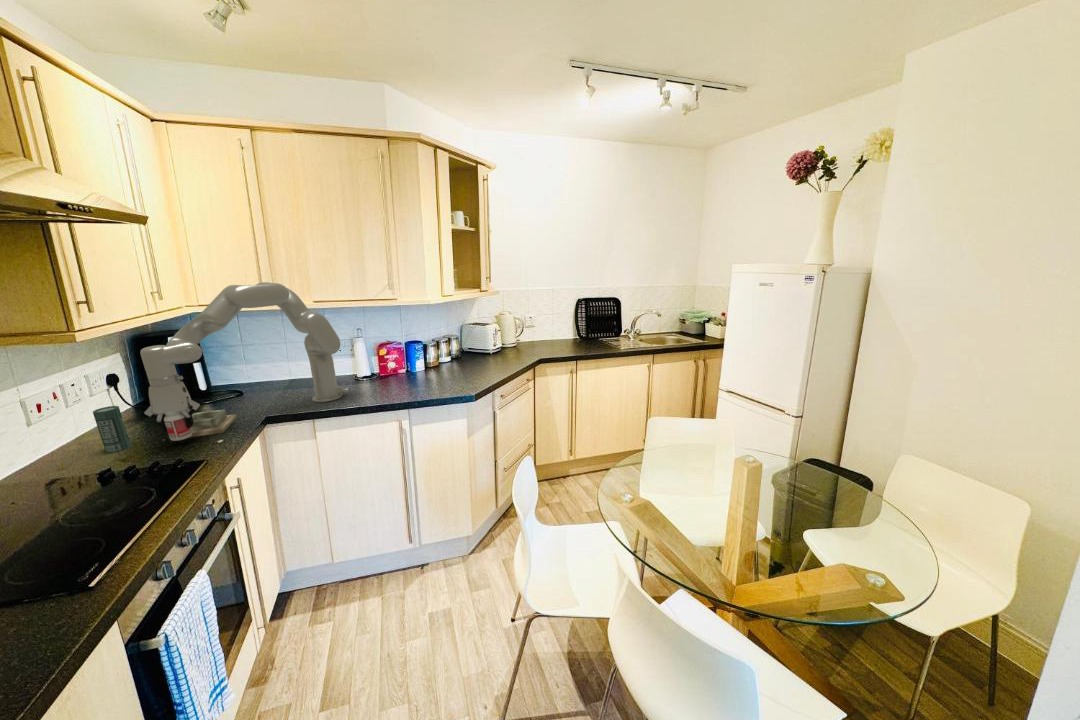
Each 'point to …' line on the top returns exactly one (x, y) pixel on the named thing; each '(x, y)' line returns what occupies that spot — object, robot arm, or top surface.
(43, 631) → the top surface
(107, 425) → the can
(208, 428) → the socket board
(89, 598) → the top surface
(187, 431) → the pill bottle
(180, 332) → the robot arm
